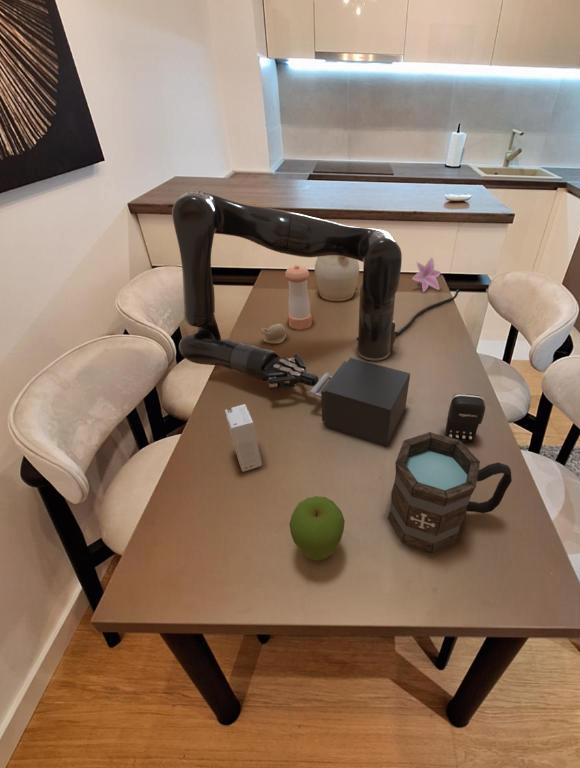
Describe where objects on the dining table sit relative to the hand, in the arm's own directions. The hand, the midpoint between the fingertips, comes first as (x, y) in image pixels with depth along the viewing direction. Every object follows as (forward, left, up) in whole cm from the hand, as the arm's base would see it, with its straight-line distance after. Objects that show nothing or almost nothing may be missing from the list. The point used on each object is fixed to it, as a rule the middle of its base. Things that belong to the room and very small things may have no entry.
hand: (316, 381), depth 93 cm
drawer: (-5, +7, -6) cm, 10 cm away
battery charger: (-21, +27, -7) cm, 35 cm away
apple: (+18, +34, -7) cm, 38 cm away
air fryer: (-7, +11, -6) cm, 14 cm away
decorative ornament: (-2, -31, -7) cm, 32 cm away
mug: (-4, +40, -7) cm, 40 cm away
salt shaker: (-13, -36, -7) cm, 39 cm away
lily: (-66, -38, -7) cm, 77 cm away
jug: (-34, -49, -7) cm, 61 cm away
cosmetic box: (+21, +9, -7) cm, 23 cm away
